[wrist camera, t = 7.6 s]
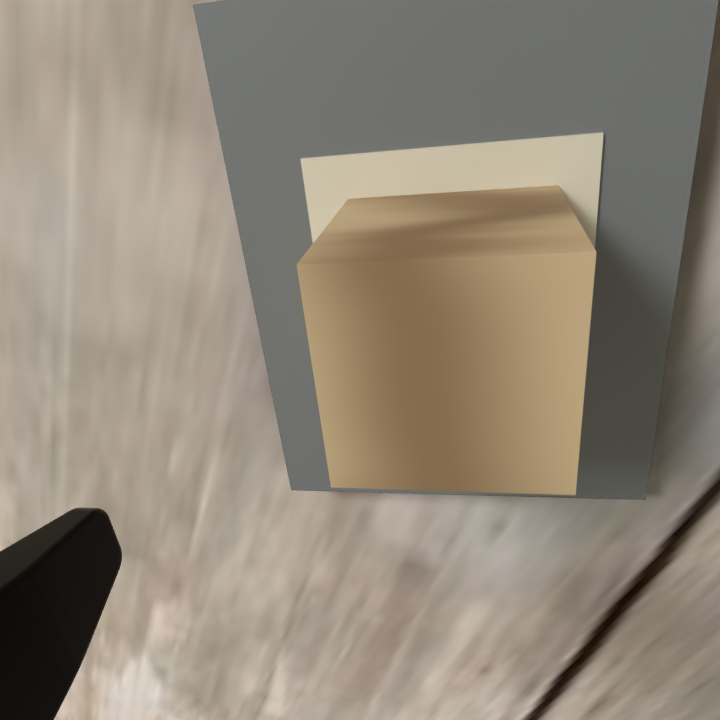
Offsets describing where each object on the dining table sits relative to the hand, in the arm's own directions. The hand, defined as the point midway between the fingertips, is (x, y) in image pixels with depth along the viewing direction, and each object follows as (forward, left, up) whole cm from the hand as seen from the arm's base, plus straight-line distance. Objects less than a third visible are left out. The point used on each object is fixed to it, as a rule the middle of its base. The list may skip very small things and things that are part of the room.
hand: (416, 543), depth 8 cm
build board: (0, 0, -10) cm, 10 cm away
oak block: (0, 0, -9) cm, 9 cm away
